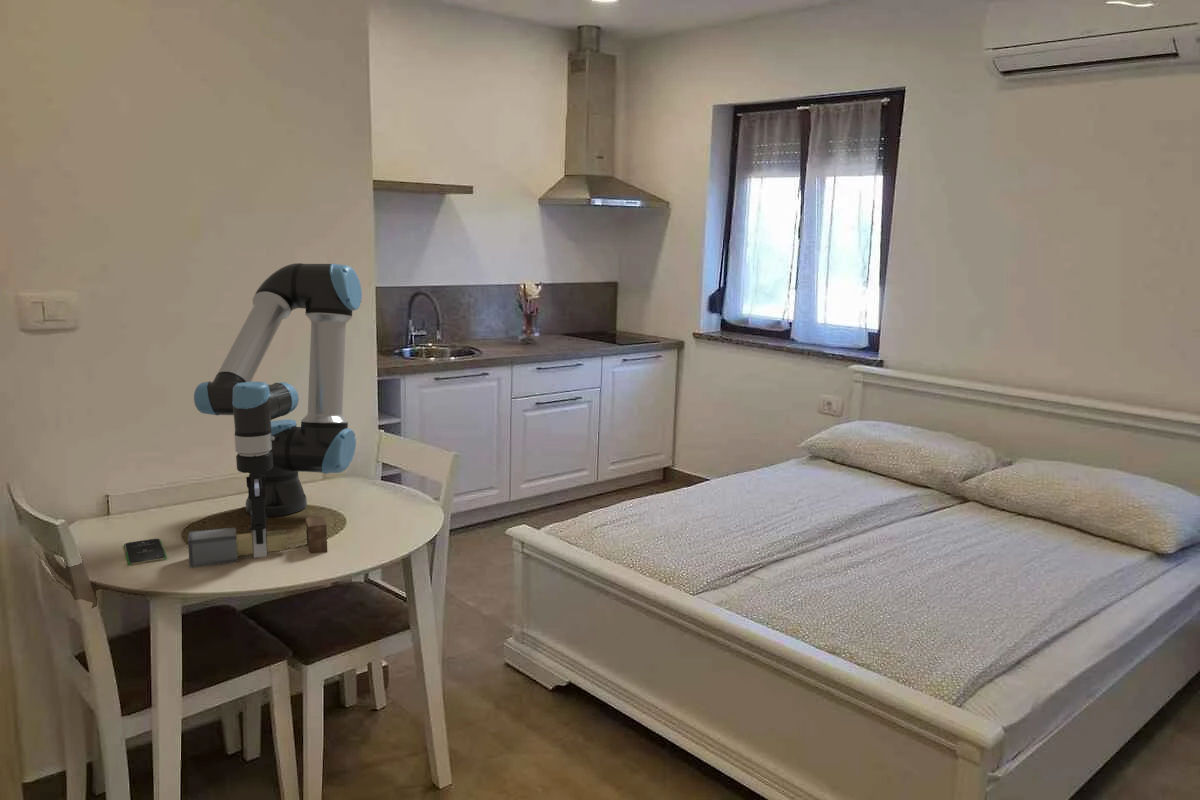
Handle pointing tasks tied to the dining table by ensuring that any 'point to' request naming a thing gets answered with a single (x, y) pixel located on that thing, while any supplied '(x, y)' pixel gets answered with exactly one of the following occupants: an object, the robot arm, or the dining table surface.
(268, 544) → the tan sliding insert
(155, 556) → the black processor chip
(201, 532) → the outer sleeve
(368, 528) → the dining table surface
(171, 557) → the dining table surface
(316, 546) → the socket block
